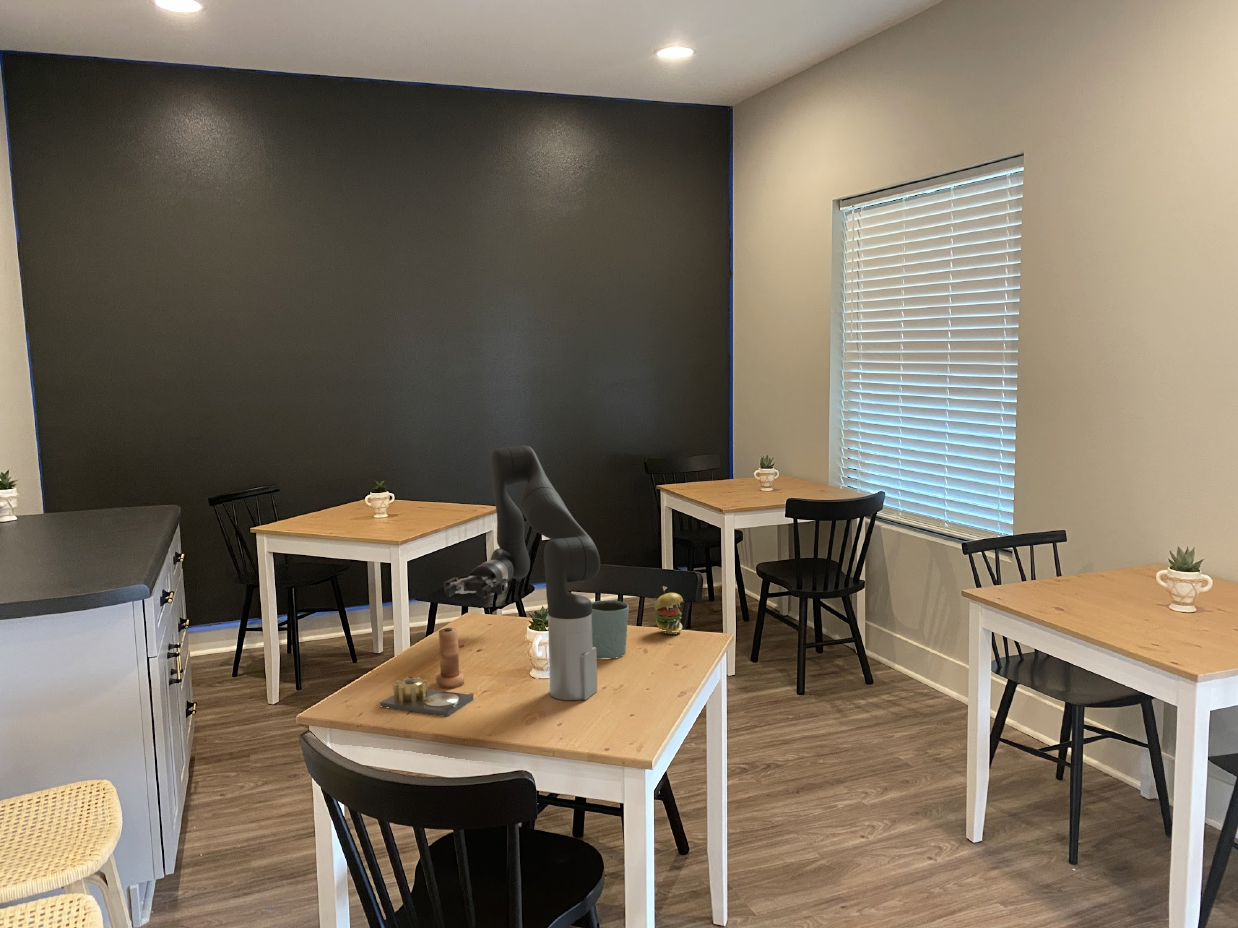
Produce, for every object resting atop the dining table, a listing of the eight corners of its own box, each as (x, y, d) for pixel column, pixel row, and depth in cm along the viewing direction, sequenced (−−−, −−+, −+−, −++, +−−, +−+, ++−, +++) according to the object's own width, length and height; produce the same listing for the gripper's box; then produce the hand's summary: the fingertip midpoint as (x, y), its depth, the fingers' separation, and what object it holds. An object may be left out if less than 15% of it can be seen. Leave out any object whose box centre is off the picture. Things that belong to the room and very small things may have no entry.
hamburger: (668, 638, 232) (668, 591, 231) (648, 632, 237) (648, 587, 236) (689, 632, 237) (688, 586, 236) (669, 626, 242) (669, 582, 241)
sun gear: (433, 692, 192) (433, 677, 191) (415, 703, 185) (414, 687, 185) (406, 689, 194) (405, 673, 194) (387, 700, 188) (386, 684, 188)
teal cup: (589, 647, 225) (588, 600, 224) (630, 647, 225) (629, 599, 223) (586, 660, 215) (585, 610, 214) (629, 660, 214) (628, 610, 213)
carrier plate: (473, 699, 190) (473, 693, 190) (447, 716, 181) (447, 710, 181) (408, 691, 196) (408, 685, 196) (380, 707, 187) (380, 700, 187)
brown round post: (469, 680, 202) (467, 626, 201) (454, 689, 196) (452, 633, 195) (445, 678, 204) (443, 624, 203) (430, 686, 199) (428, 631, 197)
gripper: (461, 561, 226) (435, 576, 210) (516, 563, 223) (494, 578, 208) (462, 591, 227) (436, 608, 211) (517, 593, 224) (495, 610, 208)
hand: (465, 593), depth 209 cm, fingers open, 8 cm apart
